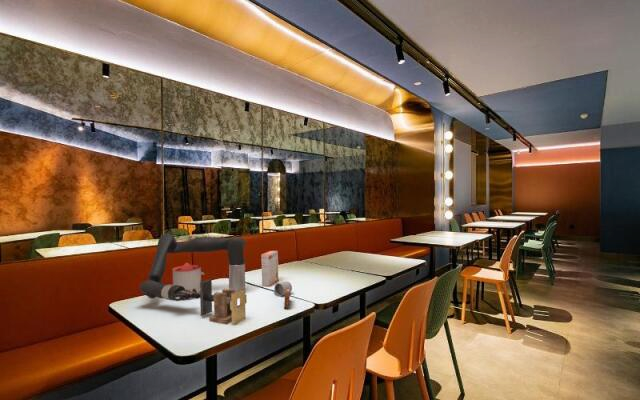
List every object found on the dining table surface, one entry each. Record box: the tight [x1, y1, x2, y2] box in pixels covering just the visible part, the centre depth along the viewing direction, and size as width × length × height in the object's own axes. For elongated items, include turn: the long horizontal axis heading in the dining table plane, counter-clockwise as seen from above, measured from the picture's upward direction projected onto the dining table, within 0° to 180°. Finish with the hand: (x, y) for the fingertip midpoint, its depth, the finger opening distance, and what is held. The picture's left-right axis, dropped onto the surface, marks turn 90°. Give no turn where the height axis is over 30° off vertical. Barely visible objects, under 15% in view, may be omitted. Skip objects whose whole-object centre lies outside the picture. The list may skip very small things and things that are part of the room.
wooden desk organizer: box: [199, 279, 232, 317], centre depth 150 cm, size 16×6×16 cm, turn 67°
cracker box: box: [260, 250, 279, 287], centre depth 209 cm, size 14×6×21 cm, turn 163°
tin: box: [283, 288, 291, 309], centre depth 167 cm, size 15×3×8 cm, turn 5°
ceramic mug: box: [273, 281, 293, 297], centre depth 186 cm, size 11×8×8 cm
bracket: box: [208, 288, 235, 325], centre depth 149 cm, size 10×10×13 cm
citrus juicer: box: [172, 262, 205, 294], centre depth 184 cm, size 16×17×20 cm
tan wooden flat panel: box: [230, 288, 248, 326], centre depth 146 cm, size 2×10×14 cm, turn 157°
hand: (199, 296), depth 155 cm, fingers closed
